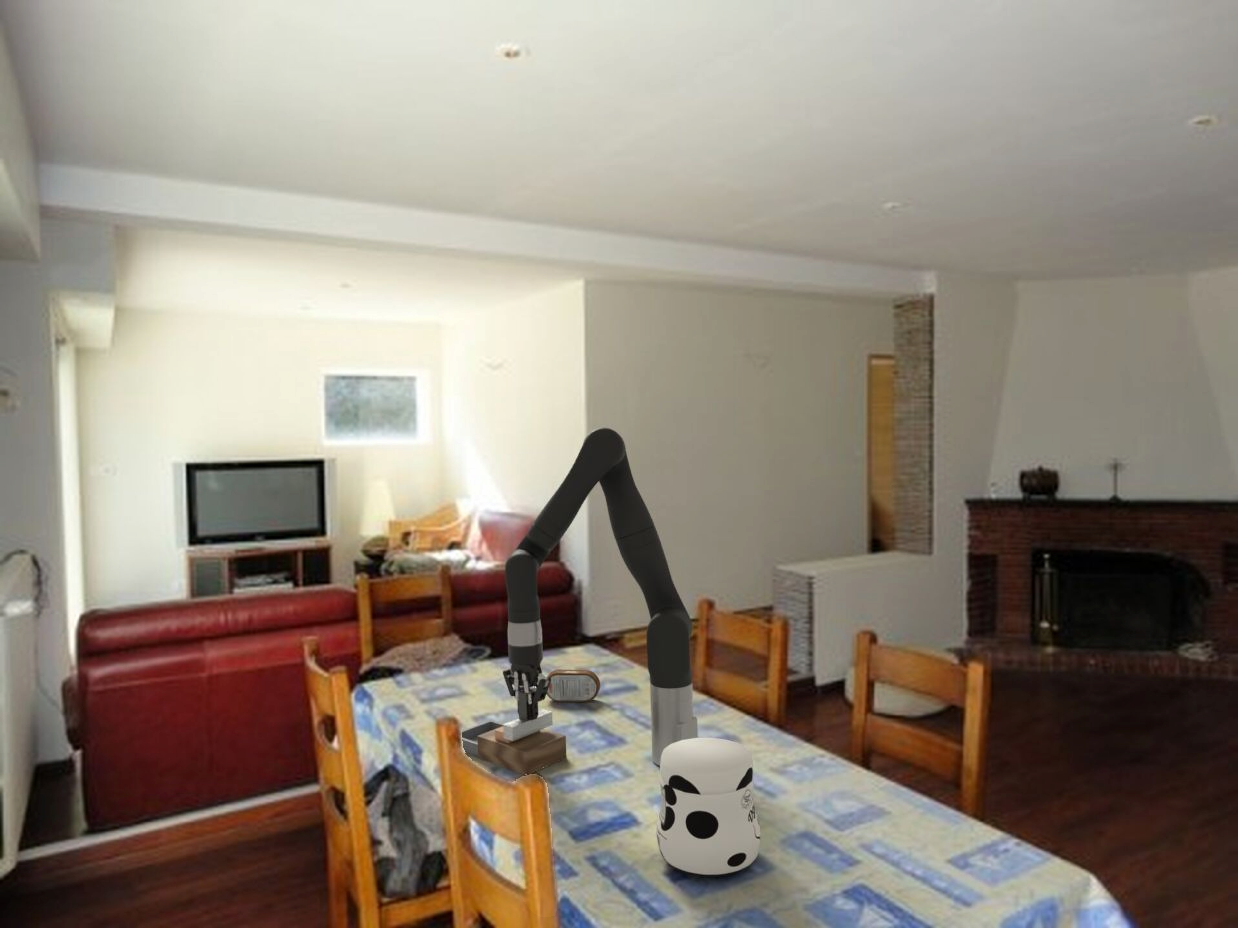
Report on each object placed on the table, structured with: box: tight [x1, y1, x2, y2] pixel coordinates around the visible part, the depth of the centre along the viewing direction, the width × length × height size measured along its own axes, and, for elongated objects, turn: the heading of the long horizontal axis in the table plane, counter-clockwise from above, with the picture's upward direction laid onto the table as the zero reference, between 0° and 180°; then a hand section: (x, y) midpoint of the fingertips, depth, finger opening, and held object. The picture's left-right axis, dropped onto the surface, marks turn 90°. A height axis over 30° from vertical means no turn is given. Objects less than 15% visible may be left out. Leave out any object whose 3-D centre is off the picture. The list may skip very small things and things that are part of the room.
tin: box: [546, 669, 601, 703], centre depth 224 cm, size 15×3×8 cm, turn 84°
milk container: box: [656, 737, 761, 878], centre depth 139 cm, size 17×17×18 cm
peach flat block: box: [495, 727, 523, 743], centre depth 185 cm, size 4×4×2 cm
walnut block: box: [477, 726, 568, 776], centre depth 186 cm, size 16×12×5 cm
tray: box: [461, 719, 504, 759], centre depth 195 cm, size 10×12×3 cm
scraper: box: [503, 690, 554, 741], centre depth 184 cm, size 3×12×9 cm, turn 139°
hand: (528, 717), depth 184 cm, fingers closed on scraper, 2 cm apart
